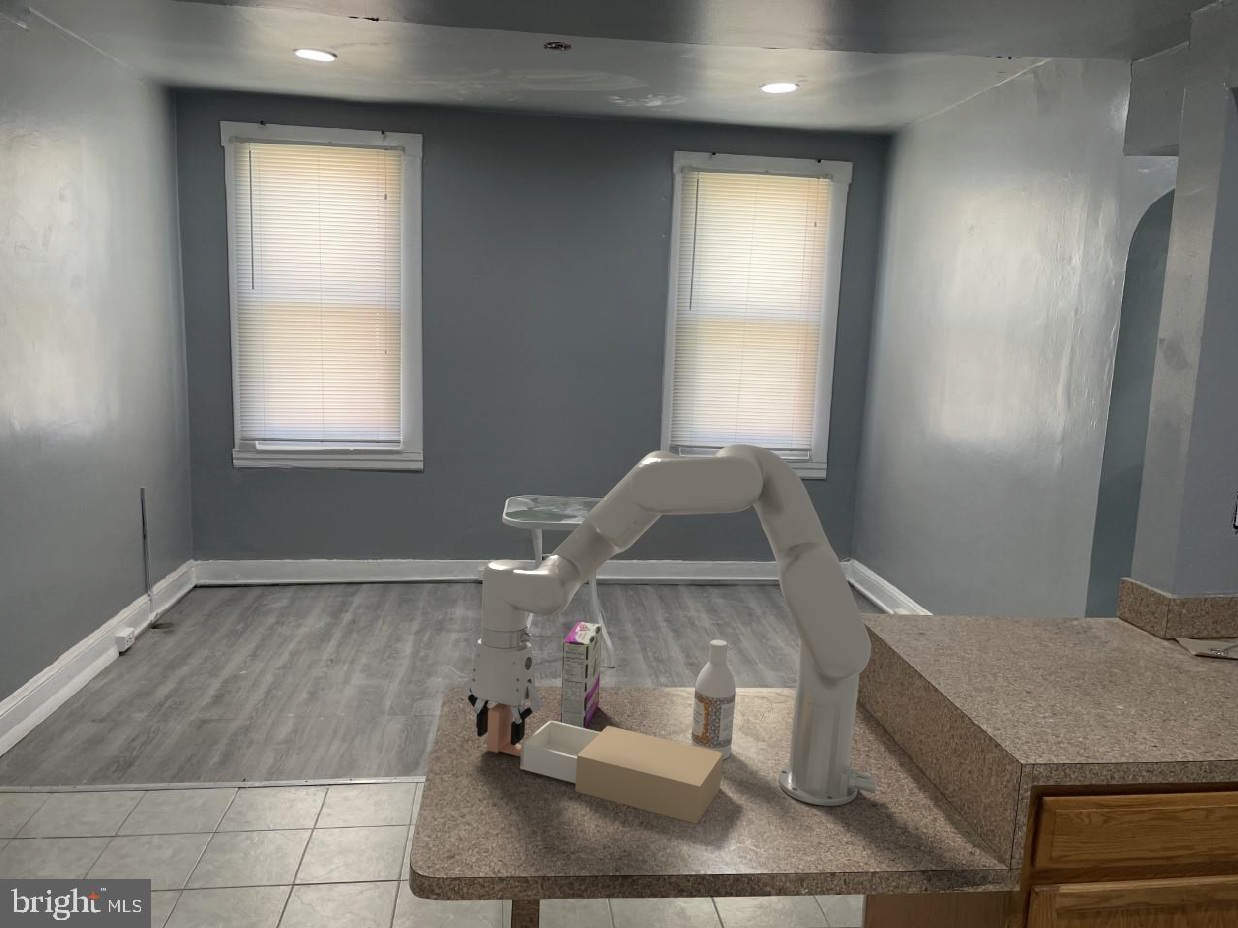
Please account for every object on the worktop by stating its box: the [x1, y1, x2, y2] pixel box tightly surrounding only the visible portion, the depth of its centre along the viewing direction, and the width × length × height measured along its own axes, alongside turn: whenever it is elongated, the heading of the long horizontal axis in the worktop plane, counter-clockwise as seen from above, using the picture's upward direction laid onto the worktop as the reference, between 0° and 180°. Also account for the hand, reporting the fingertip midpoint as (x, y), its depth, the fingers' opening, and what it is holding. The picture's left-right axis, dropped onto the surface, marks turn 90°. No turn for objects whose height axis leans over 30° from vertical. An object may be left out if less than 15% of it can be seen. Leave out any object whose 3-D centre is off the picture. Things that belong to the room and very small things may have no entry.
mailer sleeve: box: [574, 725, 723, 825], centre depth 147 cm, size 20×12×6 cm, turn 67°
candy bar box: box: [560, 621, 603, 729], centre depth 171 cm, size 11×5×16 cm, turn 168°
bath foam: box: [690, 639, 737, 761], centre depth 159 cm, size 7×7×20 cm
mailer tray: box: [486, 703, 602, 784], centre depth 152 cm, size 27×10×7 cm, turn 67°
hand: (500, 736), depth 157 cm, fingers open, 5 cm apart
